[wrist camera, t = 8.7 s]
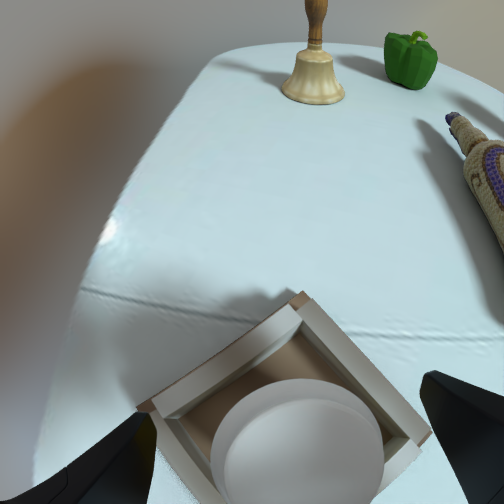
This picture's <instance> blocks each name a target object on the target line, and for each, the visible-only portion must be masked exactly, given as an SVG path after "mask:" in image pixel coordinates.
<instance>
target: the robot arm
mask: <svg viewBox="0 0 504 504" xmlns="http://www.w3.org/2000/svg"><path fill="white" fill-rule="evenodd" d="M420 398H421V401H422V403H423V406H424V408H425V411H426V413H427V416H428V418H429V421H430V424H431V426H432V429H433V431H434V433H435V435H436V437H437V439H438V441H439V443H440V445H441V447H442V449H443V451H444V452H445V454H446V456H447V458H448V460H449V462H450V464H451V467H452V469H453V471H454V473H455V475H456V477H457V479H458V481H459V483H460V485H461V487H462V490H463V492H464V494H465V496H466V498H467V501H468V503H469V504H504V396H501V395H498V394H496V393H493V392H490V391H488V390H485V389H482V388H480V387H477V386H474V385H472V384H469V383H467V382H464V381H462V380H459V379H456V378H454V377H451V376H449V375H446V374H444V373H441V372H439V371H436V370H433V371H430V372H427V373H425V374H424V376H423V379H422V384H421V388H420ZM156 442H157V429H156V426H155V424H154V422H153V420H152V418H151V416H150V414H149V413H148V412H139V411H138V412H135V413H134V414H133V415H131V416H130V417H129V418H128V419H126V420H125V421H124V422H123V423H122V424H120V425H119V426H118V427H117V428H115V429H114V430H113V431H111V432H110V433H109V434H108V435H106V436H105V437H104V438H103V439H101V440H100V441H99V442H97V443H96V444H95V445H94V446H92V447H91V448H90V449H88V450H87V451H86V452H85V453H83V454H82V455H81V456H79V457H78V458H77V459H75V460H74V461H73V462H71V463H70V464H69V465H67V467H64V468H63V469H62V470H60V471H59V472H58V473H56V474H55V475H53V476H52V477H50V478H49V479H47V480H46V481H44V482H42V483H41V484H39V485H37V486H35V487H33V488H32V489H30V490H28V491H26V492H24V493H22V494H20V495H18V496H17V497H15V498H12V499H10V500H6V501H0V504H147V499H148V495H149V490H150V486H151V481H152V476H153V471H154V462H155V452H156Z"/></svg>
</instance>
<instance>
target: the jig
mask: <svg viewBox="0 0 504 504" xmlns="http://www.w3.org/2000/svg"><path fill="white" fill-rule="evenodd" d="M290 379H314V380H321V381H325V382H329V383H333V384H335V385H338V386H341V387H343V388H345V389H346V390H348V391H350V392H351V393H353V394H354V395H356V396H357V397H358V398H359V399H360V400H362V401H363V402H364V403H365V405H366V406H367V407H368V408H369V409H370V411H371V412H372V414H373V415H374V417H375V419H376V421H377V423H378V425H379V428H380V431H381V435H382V442H383V451H384V461H385V463H384V473H383V478H382V481H381V484H380V487H379V489H378V491H377V493H376V495H375V497H376V496H377V495H378V494H379V493H380V492H381V491H383V490H384V489H385V488H386V487H387V486H388V485H389V484H390V483H391V482H393V481H394V480H395V479H396V478H397V477H398V476H399V475H400V474H401V473H402V472H403V471H404V470H405V469H406V468H407V467H408V466H409V465H410V464H411V463H412V462H413V461H414V460H415V459H416V458H417V457H418V456H419V455H420V454H421V453H422V451H421V449H420V448H419V447H420V446H421V445H422V444H423V443H424V442H425V441H426V440H427V439H428V437H429V436H430V435H431V434H432V433H433V432H432V431H431V428H430V426H429V425H428V424H427V423H426V422H425V421H424V420H423V419H422V417H421V416H420V415H419V414H418V413H417V412H416V411H415V410H414V409H413V407H412V406H411V405H410V404H409V403H408V402H407V401H406V400H405V399H404V397H403V396H402V395H401V394H400V393H399V392H398V391H397V390H396V389H395V388H394V386H393V385H392V384H391V383H390V382H389V381H388V380H387V379H386V378H385V377H384V375H383V374H382V373H381V372H380V371H379V370H378V369H377V368H376V367H375V366H374V364H373V363H372V362H371V361H370V360H369V359H368V358H367V357H366V356H365V355H364V354H363V352H362V351H361V350H360V349H359V348H358V347H357V346H356V345H355V344H354V343H353V342H352V341H351V339H350V338H349V337H348V336H347V335H346V334H345V333H344V332H343V331H342V330H341V329H340V328H339V326H338V325H337V324H336V323H335V322H334V321H333V320H332V319H331V318H330V317H329V316H328V315H327V314H326V312H325V311H324V310H323V309H322V308H321V307H320V306H319V305H318V304H317V303H316V302H315V301H314V300H313V298H312V299H311V298H310V297H309V296H308V295H307V294H306V293H305V292H304V291H303V290H302V291H301V292H300V293H299V294H297V295H296V296H295V297H293V298H292V299H291V300H290V301H288V302H287V303H286V304H284V305H283V306H282V307H280V308H279V309H278V310H276V311H275V312H274V313H273V314H271V315H270V316H269V317H267V318H266V319H264V320H263V321H262V322H260V323H259V324H258V325H256V326H255V327H254V328H252V329H251V330H250V331H248V332H247V333H245V334H244V335H243V336H241V337H240V338H238V339H237V340H236V341H234V342H233V343H231V344H230V345H229V346H227V347H226V348H224V349H223V350H222V351H220V352H219V353H217V354H216V355H214V356H213V357H212V358H210V359H209V360H207V361H206V362H204V363H203V364H201V365H200V366H198V367H197V368H195V369H194V370H192V371H191V372H190V373H188V374H187V375H185V376H184V377H182V378H180V379H179V380H177V381H176V382H174V383H173V384H171V385H170V386H168V387H167V388H165V389H164V390H162V391H161V392H159V393H157V394H156V395H154V396H153V397H151V398H150V399H148V400H146V401H145V402H143V403H142V404H140V405H138V406H137V407H136V408H137V410H138V411H139V412H148V413H149V414H150V416H151V418H152V420H153V422H154V424H155V426H156V429H157V442H156V446H157V447H158V448H159V450H160V451H161V453H162V454H163V456H164V457H165V459H166V460H167V461H168V463H169V464H170V466H171V467H172V468H173V470H174V471H175V472H176V474H177V475H178V476H179V478H180V479H181V480H182V482H183V483H184V484H185V485H186V487H187V488H188V489H189V490H190V492H191V493H192V494H193V495H194V496H195V498H196V499H197V500H198V501H199V502H200V504H227V502H226V501H225V500H224V499H223V497H222V496H221V494H220V492H219V491H218V489H217V487H216V484H215V482H214V479H213V476H212V470H211V461H210V456H211V448H212V443H213V439H214V436H215V434H216V431H217V429H218V427H219V425H220V424H221V422H222V420H223V419H224V417H225V416H226V414H227V413H228V412H229V411H230V410H231V409H232V408H233V407H234V406H235V405H236V404H237V403H238V402H239V401H240V400H242V399H243V398H244V397H246V396H247V395H249V394H250V393H252V392H254V391H255V390H257V389H259V388H262V387H264V386H266V385H269V384H272V383H275V382H279V381H283V380H290Z"/></svg>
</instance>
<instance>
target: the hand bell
mask: <svg viewBox="0 0 504 504" xmlns="http://www.w3.org/2000/svg"><path fill="white" fill-rule="evenodd" d="M327 6H328V0H305V10H306V14H307V17H308V21H309V35H308V36H309V39H308V47H307V49H305V50H302V51H300V52H298V53H297V55H296V63H295V67H294V70H293V73H292V75H291V76H290V78H289V79H287V80H286V81H285V82H284V83H283V85H282V92H283V93H284V94H285V95H286V96H287V97H288V98H290V99H293V100H295V101H299V102H302V103H307V104H314V105H321V104H332V103H336V102H338V101H340V100H342V99H343V98H344V96H345V92H344V89H343V87H342V86H341V85H340V84H339V83H338V81H337V80H336V77H335V74H334V70H333V59H332V56H331V55H330V54H328V53H327V52H325V51H323V50H322V23H323V20H324V18H325V15H326V12H327Z"/></svg>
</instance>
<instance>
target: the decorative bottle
mask: <svg viewBox="0 0 504 504" xmlns="http://www.w3.org/2000/svg"><path fill="white" fill-rule="evenodd" d="M445 119H446V122H447V123H448V125H449V126H451V128H449V131H450V133H451V135H453V137H454V138H455V139H456V140H457V142H458V144H459V146H460V148H461V151H462V153H463V154H464V155H465V156H466V159H465V162H464V167H463V174H464V178H465V180H466V181H467V183H468V185H469V187H470V189H471V191H472V193H473V194H474V195H475V197H476V199H477V201H478V202H479V205H480V206H481V208H482V210H483V211H484V214H485V215H486V217H487V219H488V221H489V223H490V225H491V227H492V229H493V231H494V232H495V235H496V237H497V239H498V241H499V244H500V246H501V248H502V250H503V253H504V142H503V141H501V140H489V139H488V138H487V137H486V135H485V134H484V133H483V132H482V131H481V130H479V129H477V128H475V127H473V125H472V124H471V123H470V122H469V120H468V119H466V118H465V117H464V116H461V115H460V114H459V113H457V112H451V113H450V114H447V115H446V117H445Z"/></svg>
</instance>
